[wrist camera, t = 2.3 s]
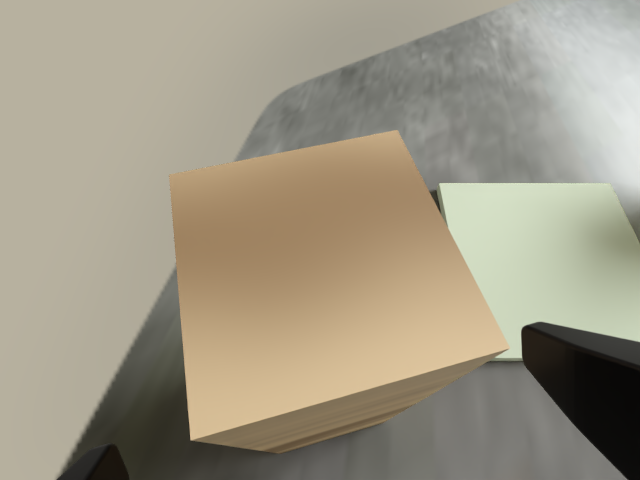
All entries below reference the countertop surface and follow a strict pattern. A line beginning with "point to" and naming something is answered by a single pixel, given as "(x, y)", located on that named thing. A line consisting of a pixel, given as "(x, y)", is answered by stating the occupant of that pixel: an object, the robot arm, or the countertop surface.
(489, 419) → the countertop surface
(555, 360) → the robot arm
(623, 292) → the mat
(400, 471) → the countertop surface
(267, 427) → the oak post
